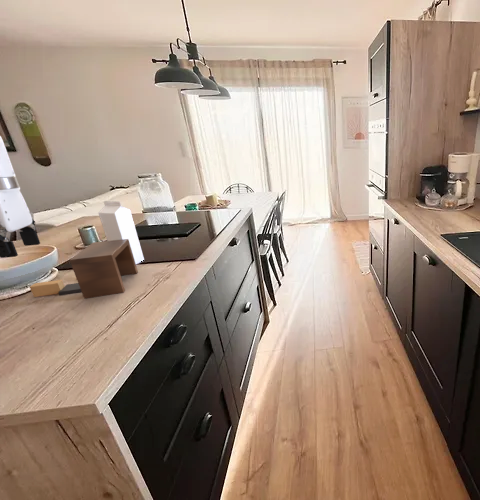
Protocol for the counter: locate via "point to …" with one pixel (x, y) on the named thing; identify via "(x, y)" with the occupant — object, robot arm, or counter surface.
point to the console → (103, 267)
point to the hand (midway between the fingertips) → (21, 250)
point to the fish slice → (54, 288)
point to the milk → (120, 226)
